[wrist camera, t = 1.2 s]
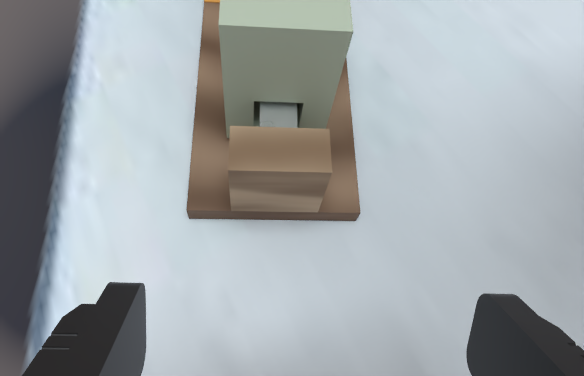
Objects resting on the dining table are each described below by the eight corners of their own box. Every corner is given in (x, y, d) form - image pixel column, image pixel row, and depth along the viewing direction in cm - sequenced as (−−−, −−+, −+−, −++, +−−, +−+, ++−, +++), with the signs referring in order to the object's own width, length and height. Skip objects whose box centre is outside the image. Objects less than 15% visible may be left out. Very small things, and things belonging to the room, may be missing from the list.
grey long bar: (260, -66, 41) (261, -94, 38) (289, -64, 41) (291, -91, 39) (257, 163, 31) (258, 144, 29) (295, 164, 31) (298, 145, 29)
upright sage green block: (229, 82, 36) (222, -43, 26) (319, 86, 36) (346, -35, 26) (226, 138, 33) (218, 24, 24) (322, 140, 34) (353, 31, 24)
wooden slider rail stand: (211, -51, 45) (204, -132, 38) (333, -43, 46) (348, -121, 39) (189, 218, 33) (174, 168, 26) (355, 220, 34) (383, 173, 27)
